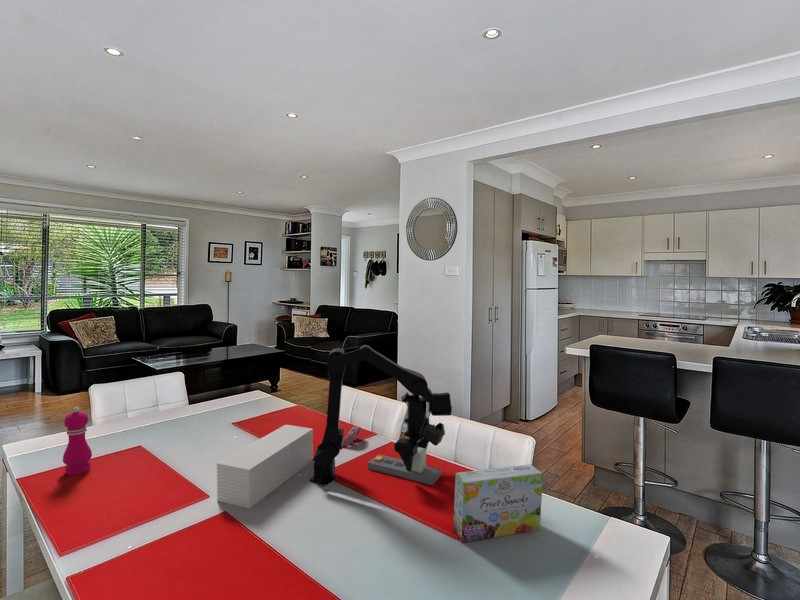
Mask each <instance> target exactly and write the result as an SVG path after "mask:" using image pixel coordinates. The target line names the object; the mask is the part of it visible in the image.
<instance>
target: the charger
mask: <svg viewBox="0 0 800 600" xmlns="http://www.w3.org/2000/svg"><path fill="white" fill-rule="evenodd" d="M417 451H418V452H417V453H416V454H415V455H414V457H413V463H412V469H411V471H414V472H418V473H421V472H422V471H423V470H424V469H425V468H426V466H427V449H425V448H420V447H418V450H417ZM406 470H407V469H406Z"/></svg>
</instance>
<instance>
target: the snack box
mask: <svg viewBox="0 0 800 600" xmlns="http://www.w3.org/2000/svg"><path fill="white" fill-rule="evenodd" d="M454 478H455V480H454V483H455V484H454V502H453V503H454V506H453V507H454V508H453V531H454V533H455V532H456V533H457V535H458V536H459V538H460V539H459V538H458V539H459V541H460V540H461V541H460V542H461V544H462V543H467V542H468V543H469V542H474V541H480V540H487V539H493V538H499V537H506V536H507V537H508V536H510V535H511V536H512V535H519V534H525V533H531V532H537V531H540V530H541V515H542V514H541V513H542V500H543V499H542V497H543V484H544V483H543V482H544V481H543V480H544V479H543V478H544V473H543V472H542V471H540V470H539V469H538V468H537V467H535V466H534V465H533V464H524V465H523V464H522V465H513V466H504V467H496V468H487V469H478V470H472V471H471V470H470V471H469V470H468V471H461V472H460V471H459V472H455V477H454ZM456 533H455V534H456ZM457 535H456V536H457ZM458 536H457V537H458Z"/></svg>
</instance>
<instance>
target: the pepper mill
mask: <svg viewBox="0 0 800 600" xmlns="http://www.w3.org/2000/svg"><path fill="white" fill-rule="evenodd" d="M88 423H89V416H88V414H87V413H86V412H84V411H81V410H80V408H79V407H77V406H76V407H73V408H72V412H70V413H69V414H68V415H66V416H65V417H64V421H63V424H64V427H66V435H68V442H67V446H66V449H65V450H64V453H63V456H62V463H63V464H64V465H65V467H64V470H65V471H64V472H65V473H64V474H66V475H67V476H75V475H81V474H84V473H87V472H89V470H90V469H91V462H90V460H91V458H92V457H93V452H92V449H91V446H90V445H89V444H88V443H87V440H86V432H87V431H88V429H87V428H88V427H87V424H88Z"/></svg>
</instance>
